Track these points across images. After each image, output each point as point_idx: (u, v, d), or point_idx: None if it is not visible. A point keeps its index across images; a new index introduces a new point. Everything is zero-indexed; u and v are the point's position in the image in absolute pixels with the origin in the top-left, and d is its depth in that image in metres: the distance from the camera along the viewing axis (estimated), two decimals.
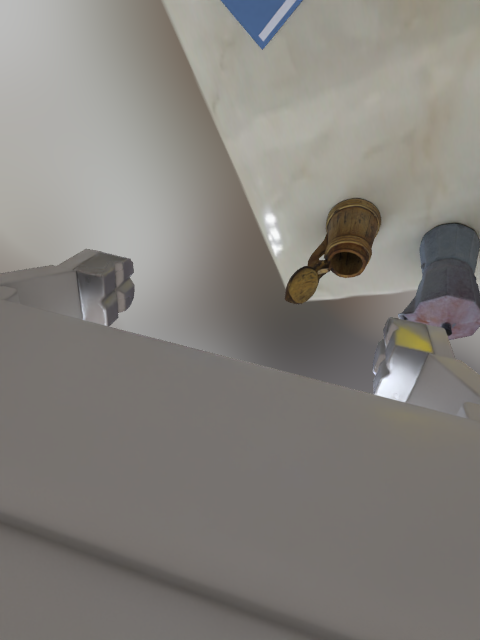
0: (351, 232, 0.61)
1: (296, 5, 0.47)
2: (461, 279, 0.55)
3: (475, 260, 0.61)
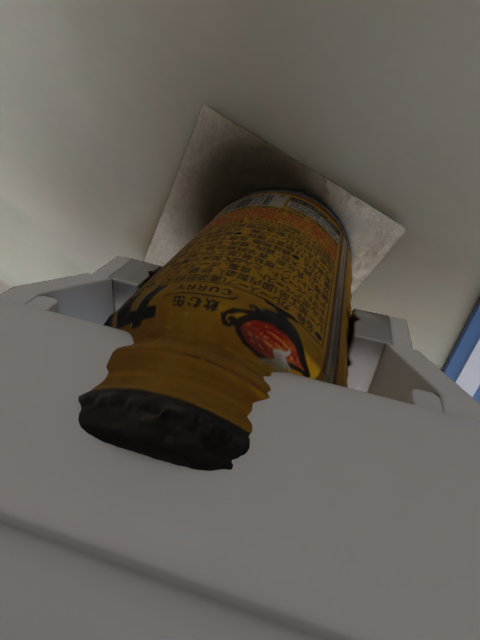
0: None
1: None
2: None
3: None
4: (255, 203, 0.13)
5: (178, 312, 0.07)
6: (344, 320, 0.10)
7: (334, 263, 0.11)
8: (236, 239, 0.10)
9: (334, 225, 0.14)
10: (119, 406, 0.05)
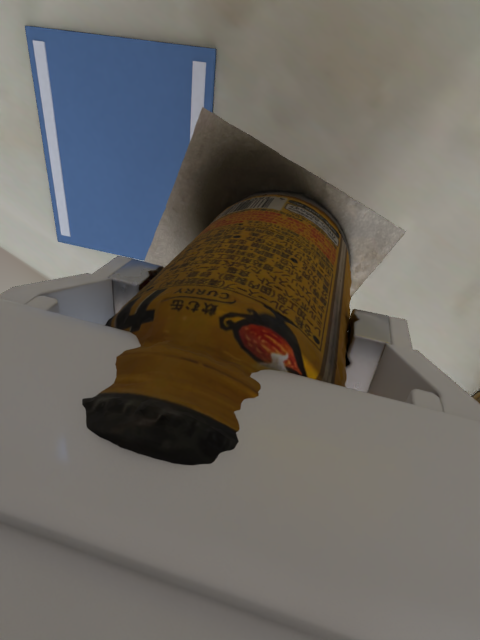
0: None
1: None
2: None
3: None
4: (254, 206, 0.13)
5: (177, 316, 0.07)
6: (342, 323, 0.10)
7: (333, 266, 0.11)
8: (235, 242, 0.10)
9: (333, 228, 0.14)
10: (117, 410, 0.05)
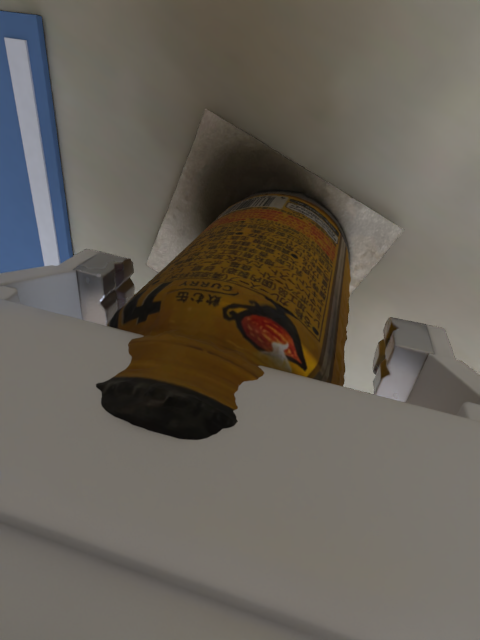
0: None
1: None
2: None
3: None
4: (256, 204, 0.13)
5: (182, 307, 0.08)
6: (341, 317, 0.10)
7: (332, 262, 0.12)
8: (238, 238, 0.10)
9: (333, 226, 0.14)
10: (127, 392, 0.06)
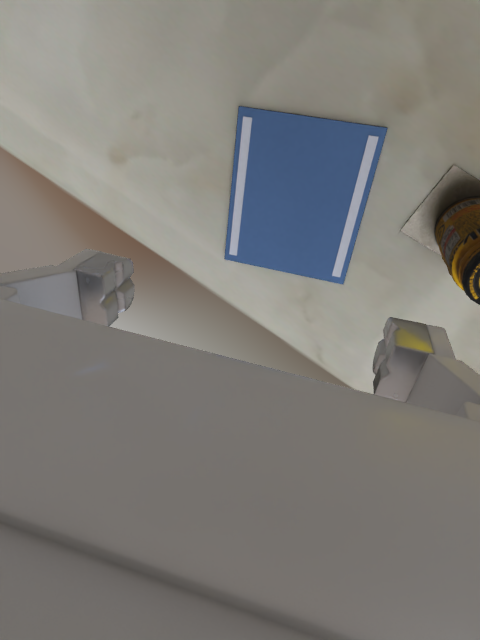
0: None
1: (356, 229, 0.40)
2: None
3: None
4: (479, 202, 0.34)
5: None
6: None
7: None
8: None
9: None
10: None
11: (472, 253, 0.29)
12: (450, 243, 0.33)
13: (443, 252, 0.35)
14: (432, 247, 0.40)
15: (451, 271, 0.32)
